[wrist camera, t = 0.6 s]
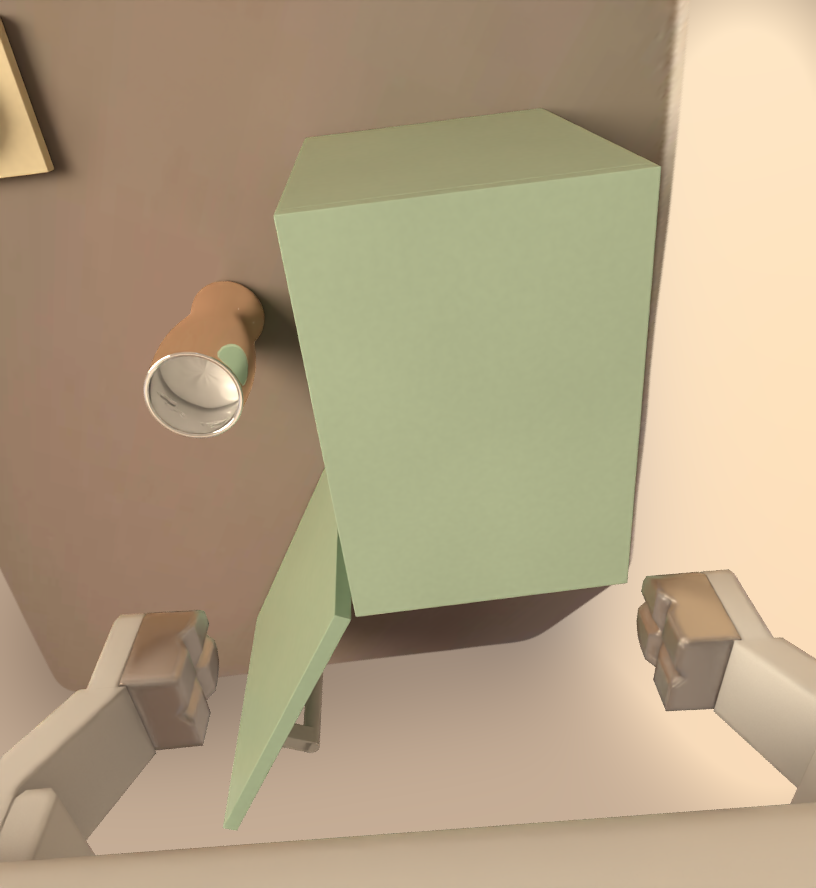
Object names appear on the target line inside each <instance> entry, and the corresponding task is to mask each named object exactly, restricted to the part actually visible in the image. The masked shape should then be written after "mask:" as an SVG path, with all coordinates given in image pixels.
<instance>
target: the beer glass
mask: <svg viewBox="0 0 816 888" xmlns="http://www.w3.org/2000/svg"><path fill="white" fill-rule="evenodd" d="M263 326H264V311H263V308H262V305H261V303H260V301H259V300H258V298H257V297H256V296H255V295H254V293H253V292H251V291H250V290H249V289H248V288H246V287H245V286H243V285H241V284H238V283H235V282H230V281H218V282H214V283H211V284H208V285H207V286H205V287H203V288H202V289H201V290H200V291H199V292H198V293H197V295H196V296H195V298H194V300H193V302H192V306H191V314H190V315H188V316H187V317H186V318H184V319H183V320H182V321H180V322H179V323H178V324H177V325H176V326H175V327H174V328H173V329H171V330H170V331H169V333H168V334H167V335H166V337H165V338H164V339H163V341H162V342H161V344H160V345H159V347H158V349H157V351H156V353H155V355H154V358H153V360H152V363H151V365H150V368H149V371H148V373H147V375H146V377H145V380H144V385H143V395H144V400H145V403H146V406H147V408H148V410H149V411H150V413H151V414H152V416H153V417H154V418H155V419H156V420H157V421H158V422H159V423H160V424H161V425H162V426H163V427H165V428H166V429H168V430H170V431H171V432H173V433H176V434H178V435H181V436H185V437H189V438H210V437H214V436H217V435H220V434H222V433H224V432H226V431H227V430H228V429H230V428H231V427H232V426H233V425H234V424H235V423H236V422H237V420H238V419H239V417H240V415H241V412H242V409H243V407H244V405H245V403H246V401H247V398H248V396H249V394H250V391H251V388H252V385H253V381H254V376H255V371H256V353H255V345H254V342H255V341H256V340H257V338H258V337H259V335H260V334H261V332H262V329H263Z"/></svg>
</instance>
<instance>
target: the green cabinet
mask: <svg viewBox="0 0 816 888" xmlns="http://www.w3.org/2000/svg"><path fill="white" fill-rule="evenodd" d="M660 178H661V166H659V165H657V164H655V163H653V162H651V161H649V160H647V159H645V158H643V157H641V156H639V155H637V154H635V153H633V152H631V151H628V150H626V149H624V148H622V147H620V146H618V145H616V144H614V143H612V142H610V141H608V140H606V139H604V138H602V137H600V136H598V135H596V134H594V133H592V132H590V131H588V130H585V129H583V128H581V127H579V126H577V125H575V124H573V123H571V122H569V121H567V120H565V119H563V118H561V117H559V116H557V115H555V114H553V113H551V112H549V111H547V110H544V109H542V108H538V109H530V110H523V111H515V112H507V113H499V114H491V115H483V116H475V117H467V118H459V119H451V120H443V121H435V122H427V123H419V124H411V125H404V126H396V127H388V128H380V129H372V130H364V131H356V132H348V133H340V134H332V135H324V136H316V137H308V138H305V140H304V142H303V145H302V147H301V150H300V152H299V155H298V157H297V160H296V162H295V164H294V167H293V169H292V172H291V174H290V177H289V179H288V182H287V184H286V186H285V189H284V191H283V194H282V196H281V199H280V201H279V204H278V206H277V208H276V211H275V213H274V221H275V226H276V231H277V236H278V240H279V245H280V250H281V255H282V260H283V265H284V270H285V275H286V279H287V284H288V289H289V294H290V299H291V304H292V309H293V314H294V318H295V323H296V328H297V333H298V338H299V343H300V348H301V352H302V357H303V362H304V367H305V372H306V377H307V382H308V387H309V391H310V396H311V401H312V406H313V411H314V416H315V421H316V426H317V430H318V435H319V440H320V445H321V450H322V455H323V460H324V464H325V469H326V474H327V479H328V484H329V489H330V494H331V499H332V503H333V508H334V513H335V518H336V523H337V528H338V533H339V538H340V542H341V547H342V552H343V557H344V562H345V567H346V572H347V576H348V581H349V586H350V591H351V596H352V601H353V606H354V611H355V615H356V617H360V616H368V615H376V614H384V613H392V612H400V611H408V610H416V609H424V608H432V607H440V606H448V605H456V604H464V603H472V602H480V601H488V600H496V599H504V598H512V597H520V596H528V595H536V594H544V593H552V592H560V591H568V590H576V589H584V588H591V587H599V586H607V585H615V584H623V583H627V579H628V567H629V555H630V543H631V531H632V519H633V507H634V494H635V482H636V470H637V458H638V446H639V433H640V421H641V409H642V397H643V385H644V373H645V360H646V348H647V336H648V324H649V312H650V300H651V287H652V275H653V263H654V251H655V239H656V227H657V214H658V202H659V190H660Z"/></svg>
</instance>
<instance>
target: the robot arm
mask: <svg viewBox="0 0 816 888" xmlns="http://www.w3.org/2000/svg"><path fill="white" fill-rule="evenodd" d="M641 592H642V594H643V596H644V599H645V601H646V602H645V603H644V604H643V605H641V606H640V607H639V608H638V615H637V631H638V639H639V643H640V647H641V649H642V652H643V655H644V657H645V659H646V660H647V661H648V662H650V663H651V664H652V665H654V666H655V667H656V668H655V674H654V679H653V680H654V682H655V685H656V687H657V690H658V692H659V695H660V697H661V700H662V702H663V705H664V707H665V709H666V711H677V710H698V709H699V710H700V709H714V712H715V713H716V714H717V715H718V716H719V717H720V718H722V719H723V720H724V721H725V722H726V723H727V724H728V725H729V726H730V727H731V728H732V729H734V730H735V731H736V732H737V733H738V734H739V735H740V736H741V737H742V738H743V739H745V740H746V741H747V742H748V743H749V744H750V745H751V746H752V747H753V748H754V749H755V750H756V751H758V752H759V753H760V754H761V755H762V756H763V757H764V758H765V759H766V760H768V762H770V763H771V764H772V765H773V766H774V767H775V768H776V769H777V770H778V771H779V772H781V773H782V774H783V775H784V776H785V777H786V778H787V779H788V780H789V781H790V782H791V783H793V784H794V785H795V786H796V787H797V791H796V793H795V795H794V797H793V799H792V802H791V804H785V805H771V806H758V807H744V808H732V809H731V808H730V809H717V810H703V811H690V812H677V813H663V814H649V815H636V816H622V817H609V818H597V819H596V818H595V819H583V820H569V821H555V822H543V823H529V824H516V825H502V826H488V827H475V828H462V829H449V830H435V831H422V832H407V833H393V834H381V835H366V836H353V837H339V838H326V839H312V840H300V841H285V842H271V843H259V844H244V845H230V846H218V847H203V848H190V849H176V850H162V851H149V852H135V853H122V854H108V855H95V854H94V852H93V851H92V849H91V848H90V846H89V845H88V843H87V841H86V840H87V839H88V837H89V836H90V835H91V834H92V832H93V831H94V830H95V828H96V827H97V826H98V825H99V824H100V822H101V821H102V820H103V819H104V817H105V816H106V815H107V814H108V812H109V811H110V810H111V809H112V807H113V806H114V805H115V804H116V802H117V801H118V800H119V799H120V797H121V796H122V795H123V794H124V793H125V791H126V790H127V789H128V787H129V786H130V785H131V784H132V782H133V781H134V780H135V779H136V777H137V776H138V775H139V774H140V773H141V771H142V770H143V769H144V767H145V766H146V765H147V764H148V763H149V761H150V760H151V759H152V758H153V756H154V755H155V754H156V751H155V750H163V749H173V748H182V747H192V746H202V745H203V743H204V739H205V735H206V730H207V726H208V722H209V717H210V709H209V707H208V704H207V701H206V700H207V699H208V698H209V697H210V696H211V695H212V694H213V693H214V692H215V691H216V686H217V681H218V671H219V658H218V651H217V647H216V643H215V640H214V639H212V638H211V637H209V636H208V635H207V630H208V626H209V622H208V619H207V617H206V614H205V612H204V611H201V610H194V611H174V612H154V613H143V614H124V615H120V616H119V617H118V618H117V619H116V620H115V622H114V623H113V626H112V628H111V631H110V633H109V636H108V638H107V640H106V643H105V645H104V648H103V650H102V653H101V655H100V658H99V660H98V662H97V665H96V667H95V670H94V672H93V675H92V677H91V679H90V682H89V684H88V687H87V689H82V690H78V691H77V692H75V693H74V694H73V695H72V696H71V697H70V698H69V699H67V700H66V701H65V702H64V703H63V704H62V705H61V706H59V707H58V708H57V709H56V710H55V711H54V712H53V713H51V714H50V715H49V716H48V717H47V718H46V719H45V720H43V722H41V723H40V724H39V725H38V726H37V727H35V728H34V729H33V730H32V731H31V732H30V733H29V734H27V735H26V736H25V737H24V738H23V739H22V740H21V741H19V742H18V743H17V744H16V745H15V746H14V747H13V748H11V749H10V750H9V751H8V752H7V753H6V754H4V755H3V756H2V757H1V758H0V888H816V659H815V658H814V657H812V656H810V655H809V654H807V653H806V652H804V651H803V650H801V649H799V648H798V647H796V646H795V645H793V644H791V643H790V642H788V641H787V640H785V639H784V638H773V636H772V634H771V633H770V631H769V629H768V628H767V626H766V625H765V623H764V621H763V620H762V618H761V616H760V615H759V613H758V612H757V610H756V608H755V607H754V605H753V603H752V602H751V600H750V599H749V597H748V595H747V594H746V592H745V590H744V589H743V587H742V586H741V584H740V582H739V581H738V579H737V578H736V576H735V574H734V573H733V572H731V571H730V570H716V571H704V572H691V573H679V574H668V575H656V576H646V578H645V579H644V581H643V585H642V591H641Z"/></svg>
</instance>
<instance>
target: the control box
mask: <svg viewBox="0 0 816 888" xmlns="http://www.w3.org/2000/svg"><path fill="white" fill-rule="evenodd" d="M52 170H54V166H53V164H52V161H51V158H50V155H49V152H48V150H47V147H46V144H45V141H44V138H43V136H42V133H41V130H40V127H39V124H38V122H37V119H36V116H35V113H34V110H33V108H32V105H31V102H30V99H29V96H28V94H27V91H26V88H25V85H24V82H23V80H22V77H21V74H20V71H19V68H18V66H17V63H16V60H15V57H14V54H13V52H12V49H11V46H10V43H9V40H8V38H7V35H6V32H5V29H4V26H3V24H2V21H1V18H0V178H6V177H14V176H22V175H30V174H38V173H46V172H50V171H52Z"/></svg>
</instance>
